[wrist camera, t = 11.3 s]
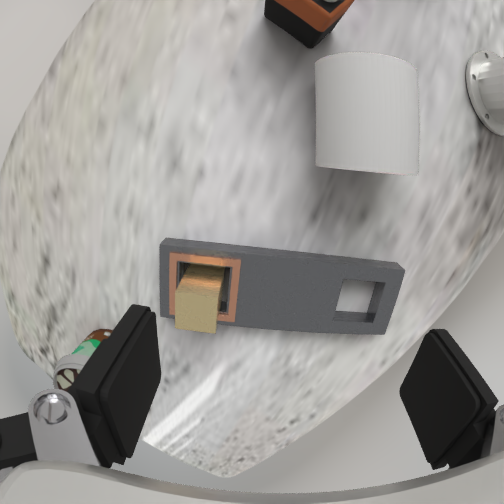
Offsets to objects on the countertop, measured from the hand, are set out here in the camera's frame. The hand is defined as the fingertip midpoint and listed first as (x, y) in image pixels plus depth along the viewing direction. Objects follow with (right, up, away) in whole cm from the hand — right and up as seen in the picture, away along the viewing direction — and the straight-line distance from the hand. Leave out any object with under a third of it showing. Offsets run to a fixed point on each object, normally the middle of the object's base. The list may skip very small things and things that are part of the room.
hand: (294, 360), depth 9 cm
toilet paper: (+9, +18, +20) cm, 29 cm away
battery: (+4, +29, +16) cm, 33 cm away
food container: (-24, -10, +30) cm, 40 cm away
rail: (+2, -1, +26) cm, 26 cm away
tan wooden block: (-7, 0, +26) cm, 27 cm away
